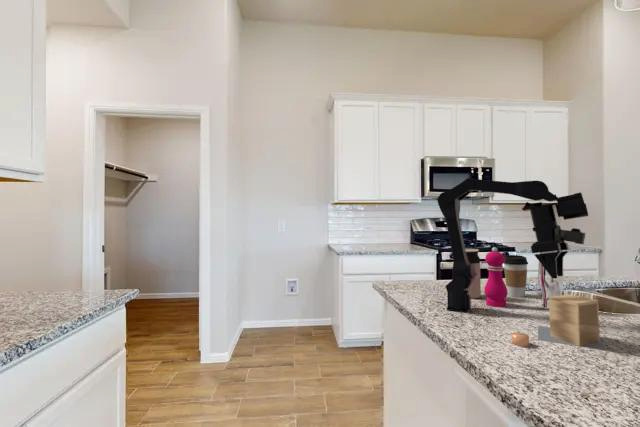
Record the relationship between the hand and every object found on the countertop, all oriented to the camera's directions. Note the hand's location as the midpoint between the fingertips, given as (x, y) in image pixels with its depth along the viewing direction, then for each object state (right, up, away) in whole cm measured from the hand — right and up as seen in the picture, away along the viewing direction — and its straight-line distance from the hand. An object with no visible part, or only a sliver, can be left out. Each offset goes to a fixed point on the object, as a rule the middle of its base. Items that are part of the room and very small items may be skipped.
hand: (557, 277), depth 95 cm
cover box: (-4, -13, -11) cm, 18 cm away
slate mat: (-4, -14, -10) cm, 17 cm away
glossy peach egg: (-19, -14, -14) cm, 27 cm away
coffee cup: (+8, -14, +34) cm, 38 cm away
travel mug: (-10, -14, +34) cm, 38 cm away
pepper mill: (-6, -14, +22) cm, 27 cm away
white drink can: (+10, -14, +17) cm, 24 cm away
